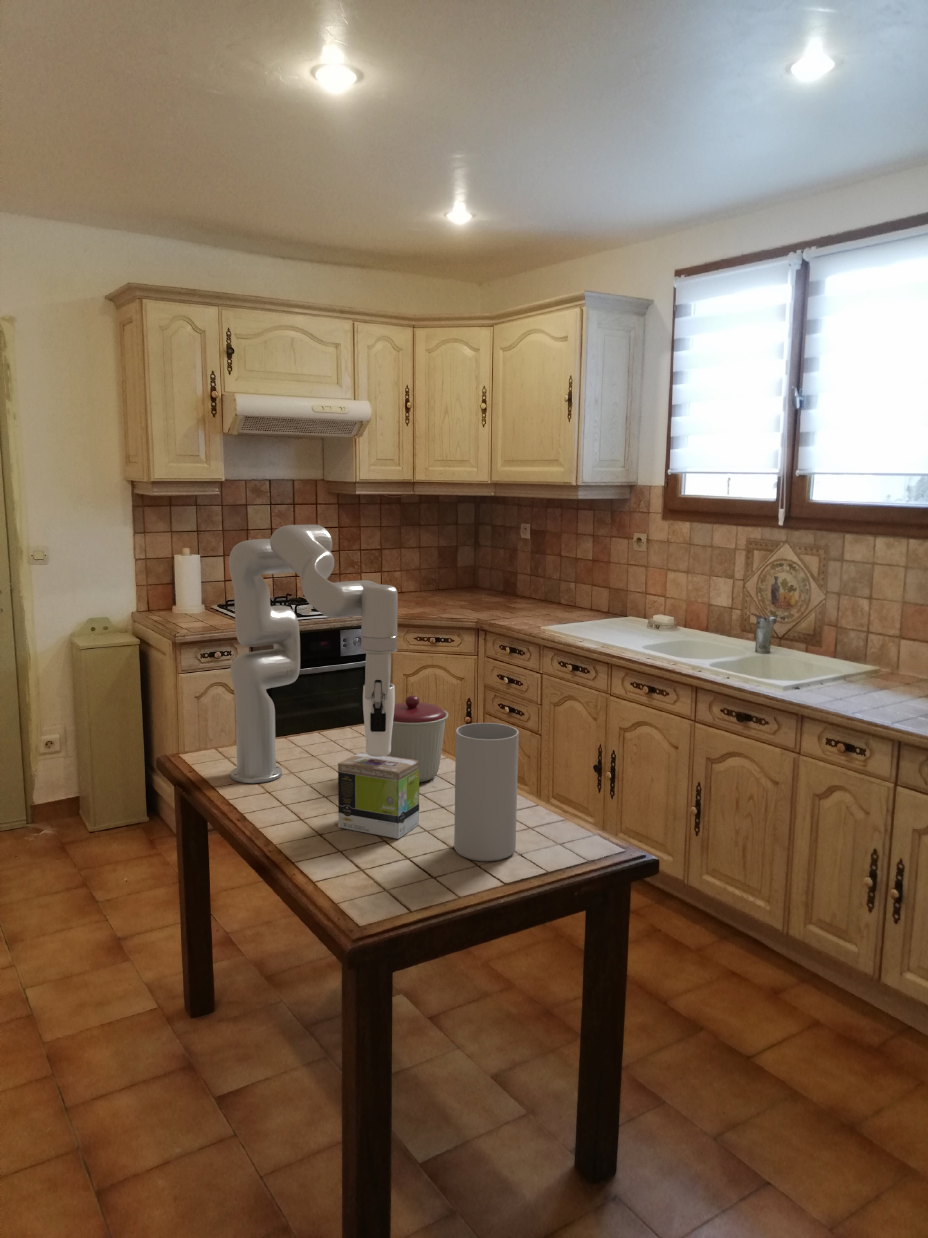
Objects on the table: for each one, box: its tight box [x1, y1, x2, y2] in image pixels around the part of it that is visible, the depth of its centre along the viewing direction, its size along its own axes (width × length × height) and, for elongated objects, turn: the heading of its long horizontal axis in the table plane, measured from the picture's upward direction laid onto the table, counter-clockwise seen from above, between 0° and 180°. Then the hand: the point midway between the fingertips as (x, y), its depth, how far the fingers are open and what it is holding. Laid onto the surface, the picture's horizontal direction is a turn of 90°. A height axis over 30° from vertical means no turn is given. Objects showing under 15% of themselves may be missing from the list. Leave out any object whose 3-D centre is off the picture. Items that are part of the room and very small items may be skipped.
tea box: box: [337, 751, 420, 840], centre depth 194 cm, size 15×10×15 cm, turn 65°
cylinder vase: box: [453, 722, 520, 862], centre depth 182 cm, size 12×12×25 cm
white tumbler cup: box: [362, 682, 396, 757], centre depth 192 cm, size 7×7×15 cm
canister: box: [387, 695, 449, 783], centre depth 226 cm, size 18×18×21 cm
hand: (378, 726), depth 192 cm, fingers closed on white tumbler cup, 6 cm apart
